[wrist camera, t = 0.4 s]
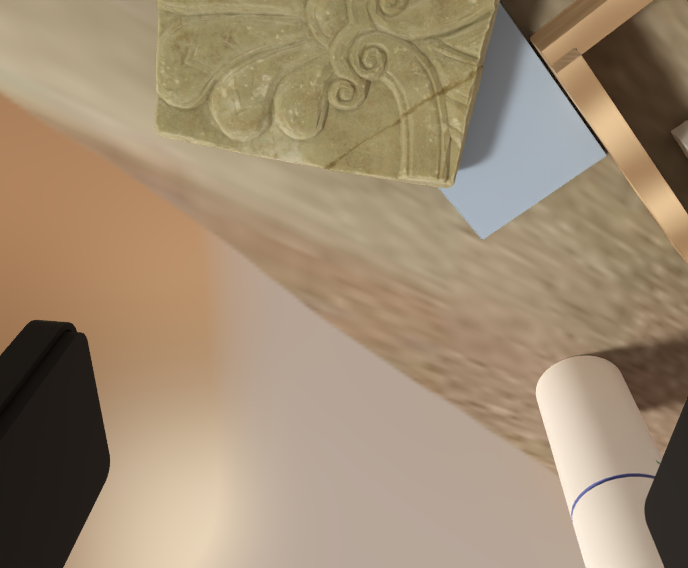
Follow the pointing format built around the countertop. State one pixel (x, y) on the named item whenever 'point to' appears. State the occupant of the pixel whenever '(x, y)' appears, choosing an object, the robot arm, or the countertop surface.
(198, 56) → the decorative tile
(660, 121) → the countertop surface
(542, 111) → the slate-blue mat
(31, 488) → the robot arm
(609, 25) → the oak rack
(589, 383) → the cylindrical container
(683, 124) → the grey painted offcut
